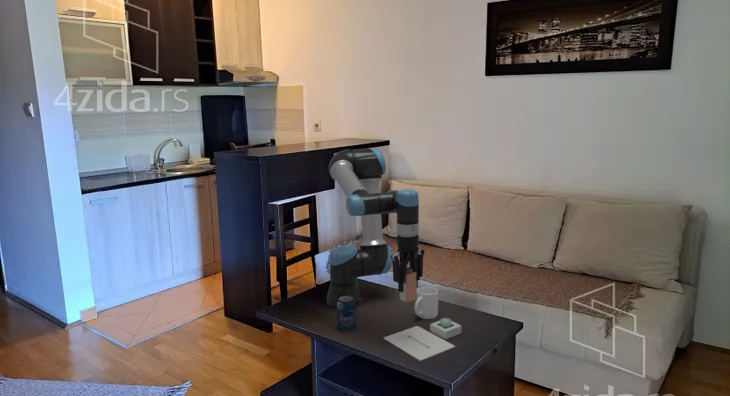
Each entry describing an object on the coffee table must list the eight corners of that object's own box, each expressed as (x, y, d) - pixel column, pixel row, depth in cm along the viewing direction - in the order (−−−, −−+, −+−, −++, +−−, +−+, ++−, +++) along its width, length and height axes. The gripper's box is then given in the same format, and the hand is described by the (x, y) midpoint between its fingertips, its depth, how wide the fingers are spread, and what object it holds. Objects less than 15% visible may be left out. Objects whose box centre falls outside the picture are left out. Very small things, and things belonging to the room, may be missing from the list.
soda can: (341, 333, 186) (340, 303, 184) (335, 326, 192) (334, 296, 190) (358, 330, 188) (358, 300, 186) (352, 322, 195) (351, 293, 192)
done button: (437, 327, 185) (438, 319, 185) (445, 324, 188) (445, 317, 187) (445, 331, 182) (445, 323, 181) (453, 328, 184) (453, 320, 184)
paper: (383, 338, 181) (383, 337, 181) (417, 326, 190) (417, 325, 190) (420, 361, 165) (420, 360, 165) (455, 346, 174) (455, 346, 174)
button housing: (430, 331, 186) (430, 323, 186) (445, 325, 191) (446, 318, 190) (445, 339, 180) (445, 331, 179) (461, 333, 184) (461, 325, 184)
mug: (423, 324, 192) (423, 299, 190) (406, 318, 198) (406, 293, 196) (442, 315, 200) (442, 290, 198) (425, 309, 206) (426, 285, 204)
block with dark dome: (400, 298, 179) (399, 268, 177) (409, 296, 182) (408, 266, 179) (407, 302, 176) (407, 271, 174) (416, 299, 178) (416, 268, 176)
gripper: (394, 240, 167) (395, 307, 171) (433, 232, 176) (433, 296, 180) (381, 236, 173) (382, 300, 177) (419, 228, 182) (419, 290, 187)
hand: (408, 298), depth 179 cm, fingers closed on block with dark dome, 4 cm apart
